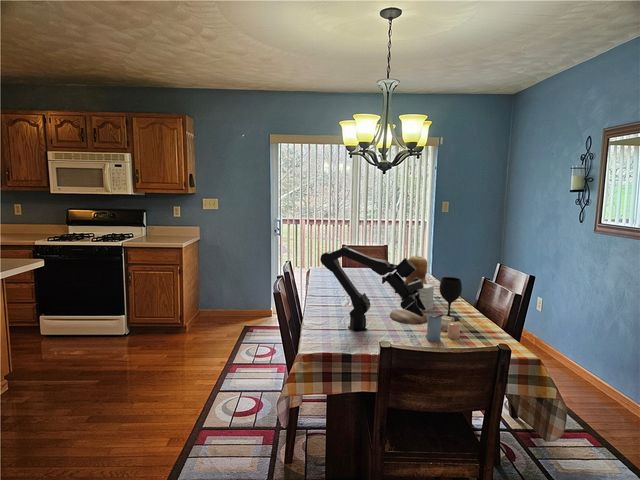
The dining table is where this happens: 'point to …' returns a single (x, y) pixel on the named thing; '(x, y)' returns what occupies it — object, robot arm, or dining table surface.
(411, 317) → the brown bread loaf
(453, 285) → the wine glass
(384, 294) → the dining table surface
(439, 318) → the blue-grey cup
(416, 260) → the butternut squash
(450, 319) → the birch block
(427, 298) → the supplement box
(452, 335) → the pink short cylinder
